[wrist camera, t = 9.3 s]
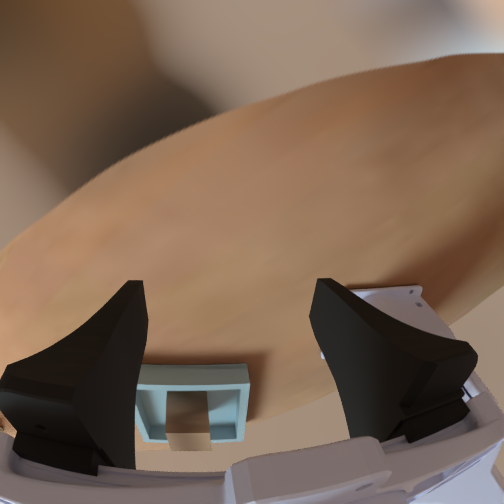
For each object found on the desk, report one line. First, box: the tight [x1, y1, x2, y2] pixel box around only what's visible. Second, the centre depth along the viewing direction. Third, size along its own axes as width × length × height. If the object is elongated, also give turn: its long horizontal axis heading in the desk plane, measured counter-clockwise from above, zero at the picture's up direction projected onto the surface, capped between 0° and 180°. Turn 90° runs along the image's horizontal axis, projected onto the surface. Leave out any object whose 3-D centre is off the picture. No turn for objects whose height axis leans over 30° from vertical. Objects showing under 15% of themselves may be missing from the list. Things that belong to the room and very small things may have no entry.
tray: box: [135, 363, 250, 443], centre depth 28 cm, size 12×12×2 cm
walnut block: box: [165, 391, 212, 451], centre depth 26 cm, size 4×4×5 cm
